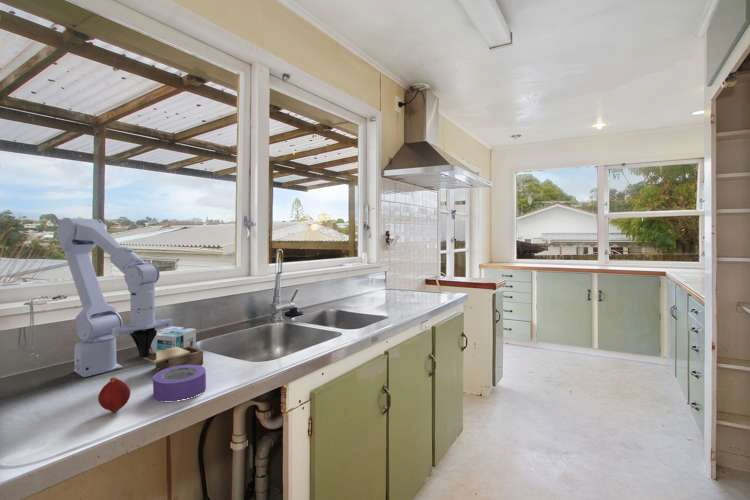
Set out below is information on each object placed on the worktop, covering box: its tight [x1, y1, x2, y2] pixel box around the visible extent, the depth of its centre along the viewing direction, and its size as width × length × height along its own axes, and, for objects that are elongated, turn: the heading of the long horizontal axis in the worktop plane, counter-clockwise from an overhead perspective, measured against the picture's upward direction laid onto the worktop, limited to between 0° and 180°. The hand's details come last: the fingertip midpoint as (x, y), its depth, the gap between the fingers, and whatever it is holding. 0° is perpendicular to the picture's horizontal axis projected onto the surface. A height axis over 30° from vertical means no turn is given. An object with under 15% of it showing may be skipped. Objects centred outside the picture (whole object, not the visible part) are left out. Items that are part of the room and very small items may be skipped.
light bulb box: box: [150, 325, 197, 352], centre depth 126 cm, size 11×7×11 cm
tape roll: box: [152, 365, 207, 403], centre depth 95 cm, size 12×12×5 cm
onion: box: [97, 376, 131, 413], centre depth 84 cm, size 6×6×8 cm
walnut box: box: [155, 346, 204, 371], centre depth 113 cm, size 10×8×4 cm
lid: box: [143, 347, 190, 364], centre depth 109 cm, size 10×8×2 cm
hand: (143, 356), depth 104 cm, fingers closed
